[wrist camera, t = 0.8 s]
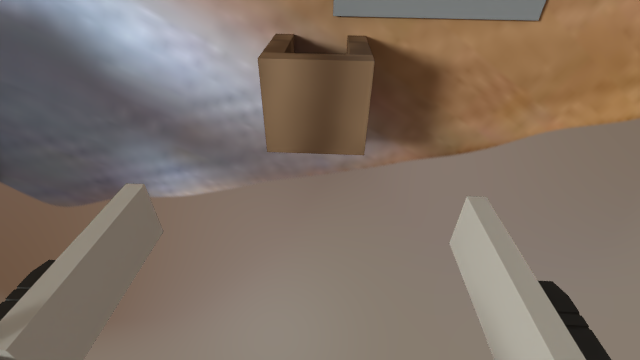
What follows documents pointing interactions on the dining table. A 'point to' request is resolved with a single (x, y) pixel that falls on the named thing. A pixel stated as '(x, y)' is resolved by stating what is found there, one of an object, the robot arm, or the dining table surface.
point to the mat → (442, 9)
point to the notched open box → (316, 97)
